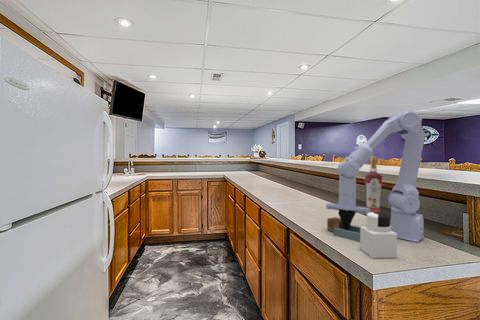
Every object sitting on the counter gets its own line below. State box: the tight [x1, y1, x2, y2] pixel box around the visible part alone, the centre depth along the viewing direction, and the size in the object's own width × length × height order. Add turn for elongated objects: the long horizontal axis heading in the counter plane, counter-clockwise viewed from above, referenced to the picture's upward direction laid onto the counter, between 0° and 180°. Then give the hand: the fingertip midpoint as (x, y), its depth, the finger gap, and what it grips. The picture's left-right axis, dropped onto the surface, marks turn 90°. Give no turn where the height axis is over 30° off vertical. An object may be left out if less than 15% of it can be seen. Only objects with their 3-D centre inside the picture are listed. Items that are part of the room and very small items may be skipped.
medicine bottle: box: [359, 211, 398, 259], centre depth 74 cm, size 7×7×12 cm
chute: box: [333, 224, 361, 243], centre depth 90 cm, size 10×8×2 cm
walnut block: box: [326, 216, 344, 233], centre depth 95 cm, size 5×4×4 cm
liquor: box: [364, 156, 383, 212], centre depth 119 cm, size 7×7×28 cm
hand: (346, 231), depth 91 cm, fingers closed
